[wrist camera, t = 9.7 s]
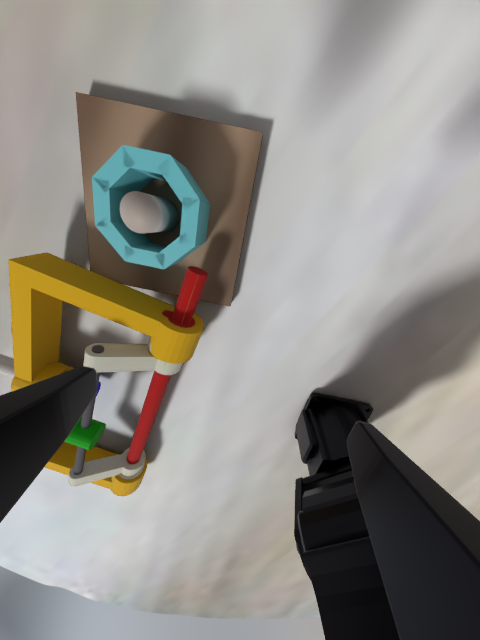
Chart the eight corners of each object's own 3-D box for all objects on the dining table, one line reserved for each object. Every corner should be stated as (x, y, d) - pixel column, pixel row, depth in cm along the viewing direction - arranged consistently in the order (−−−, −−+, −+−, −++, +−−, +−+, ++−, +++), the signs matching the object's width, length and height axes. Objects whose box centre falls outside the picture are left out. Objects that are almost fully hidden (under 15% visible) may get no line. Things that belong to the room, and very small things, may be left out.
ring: (213, 173, 15) (203, 161, 12) (202, 266, 18) (192, 275, 15) (121, 154, 15) (89, 137, 12) (123, 250, 18) (97, 255, 15)
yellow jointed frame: (209, 303, 12) (119, 531, 25) (226, 275, 18) (145, 472, 31) (-158, 145, 10) (-53, 478, 23) (-10, 169, 16) (9, 426, 29)
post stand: (262, 137, 15) (264, 100, 11) (231, 302, 20) (223, 326, 15) (86, 100, 15) (11, 45, 10) (98, 275, 20) (50, 290, 15)
